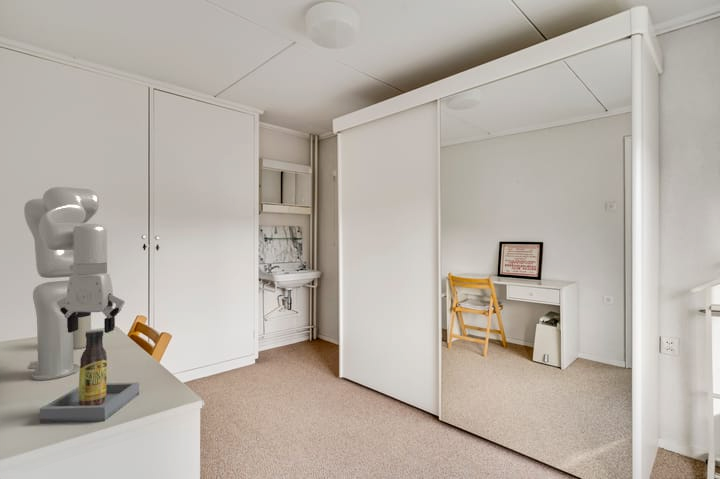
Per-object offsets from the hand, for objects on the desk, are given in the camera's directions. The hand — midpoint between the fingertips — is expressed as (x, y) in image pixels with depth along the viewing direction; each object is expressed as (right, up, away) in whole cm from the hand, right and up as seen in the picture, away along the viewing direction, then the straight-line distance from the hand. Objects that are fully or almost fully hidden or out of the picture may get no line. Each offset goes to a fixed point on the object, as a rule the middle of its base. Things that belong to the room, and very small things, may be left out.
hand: (91, 331), depth 103 cm
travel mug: (-46, -21, +57) cm, 76 cm away
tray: (+1, -21, 0) cm, 21 cm away
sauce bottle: (+1, -20, 0) cm, 20 cm away
